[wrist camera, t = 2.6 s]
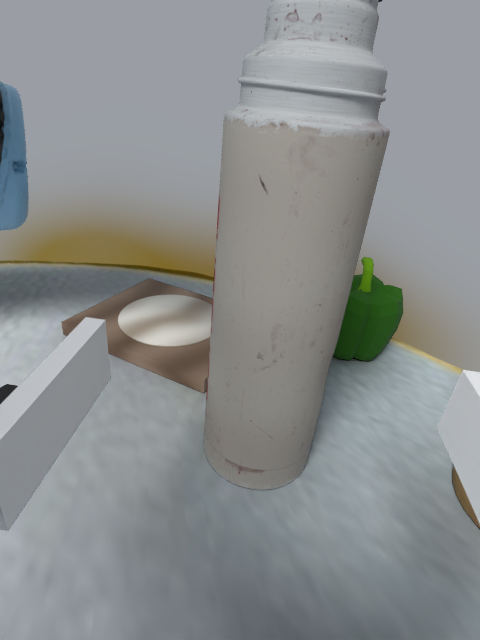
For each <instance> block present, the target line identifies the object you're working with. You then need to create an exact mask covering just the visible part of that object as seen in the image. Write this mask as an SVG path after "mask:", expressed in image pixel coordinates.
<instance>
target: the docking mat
mask: <svg viewBox="0 0 480 640" xmlns="http://www.w3.org/2000/svg"><path fill="white" fill-rule="evenodd" d="M212 301H213V298H210V297H207V296H203V295H200V294H197V293H194V292H191V291H188V290H184V289H181V288H178V287H175V286H172V285H169V284H165V283H162V282H159V281H156V280H153V279H150V278H148V279H146V280H144V281H142V282H140V283H138V284H136V285H135V286H133V287H131V288H129V289H127V290H125V291H123V292H121V293H119V294H117V295H115V296H113V297H111V298H109V299H107V300H105V301H103V302H101V303H99V304H97V305H95V306H93V307H91V308H89V309H87V310H85V311H83V312H81V313H79V314H77V315H75V316H73V317H71V318H69V319H67V320H65V321H63V322H62V328H63V334H64V335H66V336H68V335H69V334H70V333H71V332H72V331H73V330H74V329H75V328H76V327H77V326H78V325H79V324H80V323H81V321H82V320H83V319H84V318H85V317H89V318H96V319H103V320H106V332H107V343H108V353H109V354H111V355H114V356H116V357H118V358H121V359H123V360H125V361H128V362H130V363H133V364H135V365H137V366H140V367H142V368H145V369H147V370H149V371H152V372H154V373H157V374H159V375H161V376H164V377H166V378H168V379H171V380H173V381H176V382H178V383H180V384H183V385H185V386H188V387H190V388H192V389H195V390H197V391H199V392H202V393H204V392H205V391H206V390H207V381H208V365H209V349H210V333H211V317H212Z"/></svg>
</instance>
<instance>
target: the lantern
mask: <svg viewBox="0 0 480 640" xmlns="http://www.w3.org/2000/svg"><path fill="white" fill-rule="evenodd" d="M452 483H453V486H454V489H455V492H456V495H457V497H458V499H459V501H460V503H461V505H462V506H463V508H464V510H465V511H466V512H467V514H468V515H469V516H470V517H471V519H472V520H473V521H474V523H475V524H476V525H477V526H478V527H479V528H480V523H479V521H478V519H477V517H476V514H475V512H474V510H473V508H472V505H471V503H470V501H469V499H468V496H467V494H466V492H465V490H464V487H463V485H462V483H461V480H460V478H459V476H458V474H457V471H456V469H455V467H454V468H453V471H452Z"/></svg>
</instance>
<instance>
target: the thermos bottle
mask: <svg viewBox="0 0 480 640" xmlns="http://www.w3.org/2000/svg"><path fill="white" fill-rule="evenodd" d="M381 1H382V0H272V1H271V4H270V5H269V6H268V9H267V16H266V26H265V37H264V42H263V44H262V45H261V46H259V47H258V48H257V49H255V50H254V51H252V52H251V53H250V54H248V55H247V56H246V57H244V59H243V68H242V77H241V78H239V79H238V82H239V83H241V93H240V102H239V105H238V107H236V108H234V109H232V110H229V111H226V112H225V114H224V124H223V140H222V142H223V143H222V158H221V172H220V189H219V205H218V221H217V237H216V254H215V269H214V285H213V301H212V317H211V333H210V349H209V365H208V381H207V397H206V413H205V430H204V451H205V454H206V457H207V460H208V461H209V463H210V464H211V466H212V467H213V469H214V470H215V471H216V472H217V473H218V474H219V475H220V476H222V477H223V478H225V479H226V480H228V481H229V482H231V483H234V484H236V485H238V486H241V487H245V488H248V489H256V490H268V489H275V488H278V487H282V486H284V485H286V484H288V483H290V482H292V481H293V480H294V479H296V478H297V477H298V476H299V475H300V474H301V472H302V471H303V470H304V468H305V466H306V463H307V460H308V457H309V453H310V449H311V445H312V441H313V437H314V433H315V429H316V425H317V421H318V417H319V413H320V409H321V405H322V400H323V396H324V390H325V384H326V379H327V374H328V370H329V367H330V363H331V360H332V357H333V354H334V351H335V348H336V344H337V341H338V337H339V333H340V329H341V325H342V321H343V317H344V313H345V309H346V305H347V301H348V297H349V293H350V289H351V285H352V281H353V277H354V273H355V269H356V265H357V261H358V257H359V253H360V249H361V245H362V241H363V237H364V233H365V229H366V225H367V221H368V217H369V213H370V209H371V205H372V201H373V197H374V193H375V190H376V185H377V182H378V178H379V174H380V170H381V166H382V161H383V158H384V154H385V150H386V146H387V141H388V138H389V133H390V131H389V129H388V128H387V127H385V126H383V125H382V124H380V123H379V121H378V112H379V108H380V105H381V102H383V101H385V97H383V96H382V95H383V93H384V92H386V89H385V83H386V78H387V70H386V69H385V68H384V67H383V66H382V64H381V63H380V62H379V61H378V60H377V59H376V58H375V57H374V55H373V53H372V50H373V44H374V39H375V34H376V30H377V25H378V19H379V16H378V13H377V6H378V2H381Z"/></svg>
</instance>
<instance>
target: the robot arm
mask: <svg viewBox="0 0 480 640" xmlns="http://www.w3.org/2000/svg"><path fill="white" fill-rule="evenodd" d="M26 164H27V162H26V142H25V130H24V120H23V111H22V104H21V99H20V95H19V93H18V91H17V90H16V89H15V88H14V87H12V86H10V85H6V84H4V83H2V82H1V81H0V231H1V230H11V229H16V228H18V227H20V226H21V225H22V224H23V223H24V222H25V221H26V218H27V216H28V175H27V168H26ZM110 379H111V376H110V365H109V354H108V343H107V332H106V320H103V319H96V318H89V317H85V318H84V319H83V320H82V321H81V323H80V324H79V325H78V326H77V327H76V328H75V329H74V330H73V331H72V332H71V333H70V334H69V335H68V336H67V337H66V338H65V339H64V340H63V341H62V342H61V343H60V344H59V345H58V346H57V347H56V348H55V349H54V350H53V351H52V352H51V353H50V354H49V355H48V356H47V357H46V358H45V359H44V360H43V361H42V362H41V363H40V364H39V365H38V366H37V367H36V368H35V369H34V371H33V372H32V373H31V374H30V375H29V376H28V377H27V378H26V379H25V380H24V381H23V382H22V383H21V384H20V385H19V386H16V385H9V384H6V385H4V386H2V387H1V388H0V529H1V530H7V531H9V529H10V528H11V526H12V525H13V523H14V522H15V520H16V519H17V517H18V516H19V514H20V513H21V511H22V510H23V508H24V507H25V505H26V504H27V502H28V501H29V499H30V498H31V496H32V495H33V493H34V492H35V490H36V489H37V487H38V486H39V485H40V483H41V482H42V480H43V479H44V477H45V476H46V474H47V473H48V471H49V470H50V468H51V467H52V465H53V464H54V462H55V461H56V459H57V458H58V456H59V455H60V453H61V452H62V450H63V449H64V447H65V446H66V444H67V443H68V441H69V440H70V438H71V437H72V435H73V434H74V432H75V431H76V429H77V428H78V426H79V425H80V423H81V422H82V420H83V419H84V417H85V416H86V414H87V413H88V411H89V410H90V408H91V407H92V405H93V404H94V402H95V401H96V399H97V398H98V396H99V395H100V393H101V392H102V390H103V389H104V387H105V386H106V384H107V383H108V381H109V380H110ZM437 428H438V431H439V433H440V435H441V438H442V440H443V442H444V444H445V447H446V449H447V451H448V453H449V456H450V458H451V460H452V462H453V465H454V467H455V469H456V471H457V474H458V476H459V478H460V480H461V483H462V485H463V487H464V490H465V492H466V494H467V496H468V499H469V501H470V503H471V505H472V508H473V510H474V512H475V514H476V517H477V519H478V521H479V523H480V372H474V371H467V370H462V372H461V375H460V377H459V379H458V381H457V383H456V386H455V388H454V390H453V392H452V395H451V397H450V399H449V401H448V403H447V406H446V408H445V410H444V412H443V414H442V417H441V419H440V421H439V423H438V425H437Z"/></svg>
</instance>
